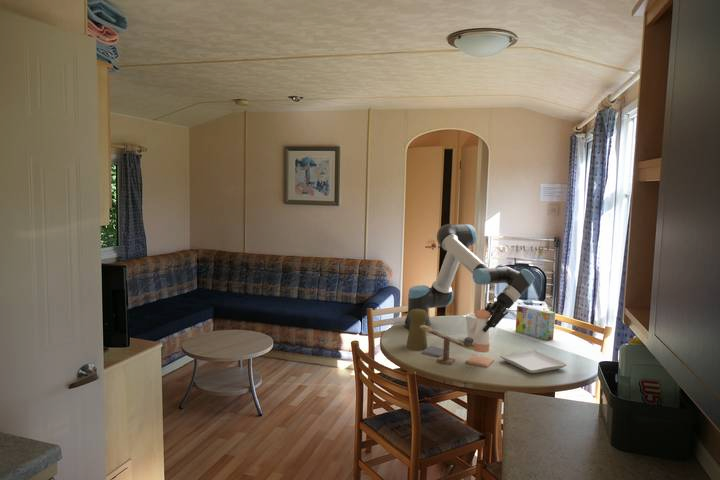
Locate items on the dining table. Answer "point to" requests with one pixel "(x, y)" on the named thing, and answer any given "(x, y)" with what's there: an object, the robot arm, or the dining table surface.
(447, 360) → the balance
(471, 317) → the foam cup
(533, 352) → the salad plate
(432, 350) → the dish slate
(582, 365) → the dining table surface
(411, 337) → the pepper shaker
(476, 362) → the orange square coaster
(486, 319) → the pepper shaker
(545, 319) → the snack box
